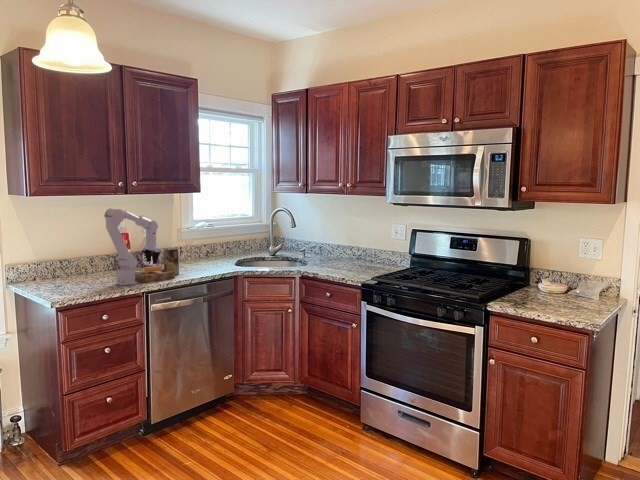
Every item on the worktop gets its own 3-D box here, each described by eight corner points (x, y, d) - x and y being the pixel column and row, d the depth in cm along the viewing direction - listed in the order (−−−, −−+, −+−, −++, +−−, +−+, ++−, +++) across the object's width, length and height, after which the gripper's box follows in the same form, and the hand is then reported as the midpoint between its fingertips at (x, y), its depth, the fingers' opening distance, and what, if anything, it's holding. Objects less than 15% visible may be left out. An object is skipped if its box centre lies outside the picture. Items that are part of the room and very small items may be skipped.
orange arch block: (145, 277, 281) (145, 268, 281) (144, 277, 282) (144, 267, 282) (161, 275, 289) (161, 266, 288) (160, 275, 290) (160, 265, 289)
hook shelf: (143, 282, 274) (143, 274, 273) (132, 279, 283) (132, 271, 283) (174, 278, 288) (174, 270, 288) (163, 275, 298) (163, 267, 297)
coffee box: (179, 272, 306) (178, 248, 304) (179, 274, 300) (178, 249, 298) (164, 273, 304) (163, 248, 302) (163, 275, 298) (163, 250, 296)
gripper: (163, 240, 281) (163, 263, 283) (151, 238, 291) (152, 260, 293) (152, 241, 276) (152, 264, 278) (140, 239, 286) (141, 261, 288)
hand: (151, 262), depth 285 cm, fingers open, 7 cm apart
